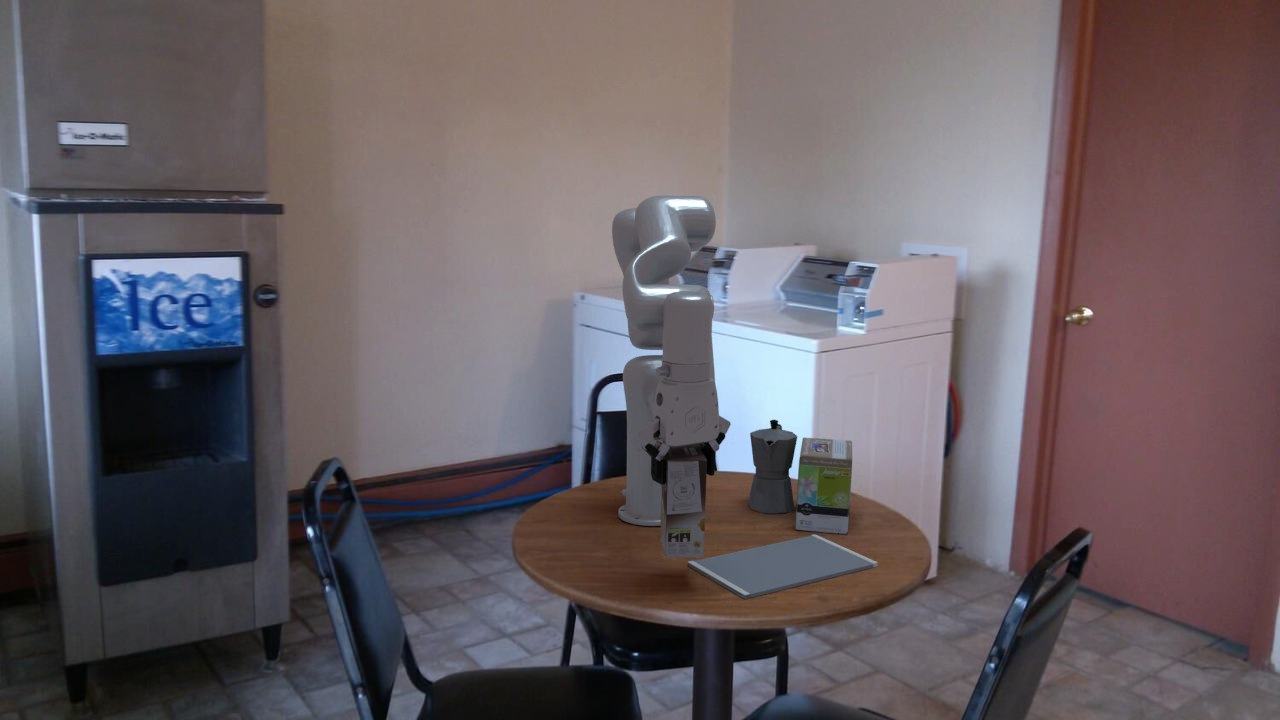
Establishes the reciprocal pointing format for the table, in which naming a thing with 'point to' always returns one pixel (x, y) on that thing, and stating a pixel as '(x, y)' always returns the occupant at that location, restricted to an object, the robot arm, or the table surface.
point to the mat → (781, 565)
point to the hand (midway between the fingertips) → (683, 477)
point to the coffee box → (684, 502)
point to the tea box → (824, 485)
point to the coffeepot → (772, 469)
